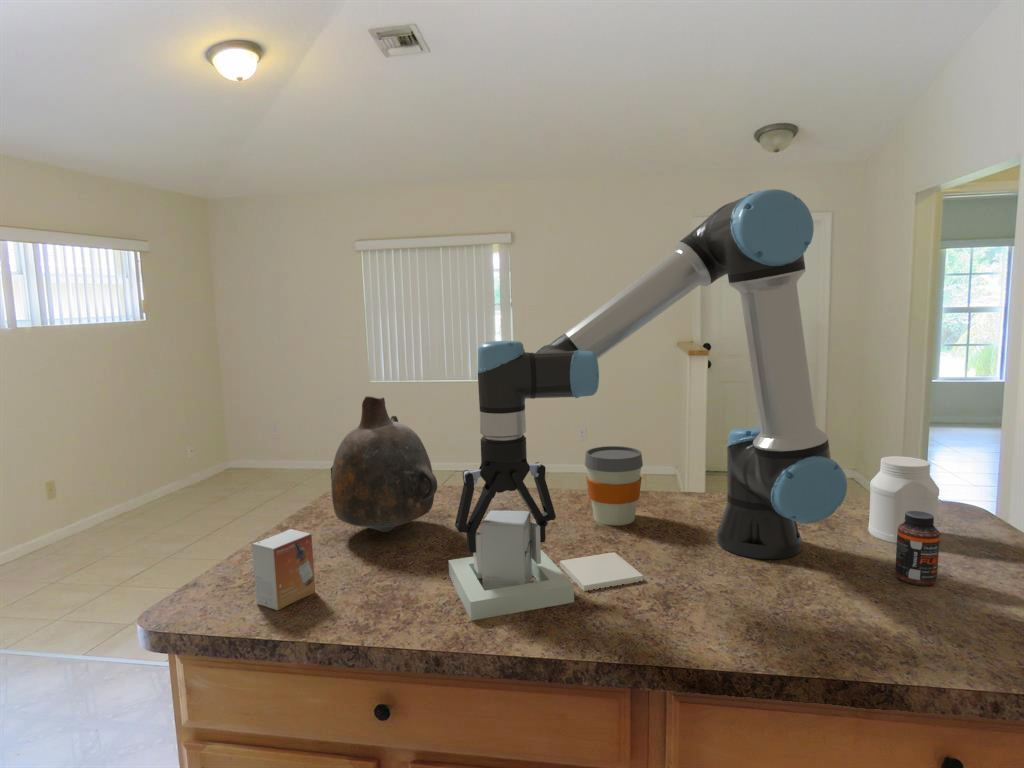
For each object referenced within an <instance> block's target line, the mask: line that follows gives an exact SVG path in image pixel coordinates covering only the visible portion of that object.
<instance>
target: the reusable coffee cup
mask: <svg viewBox="0 0 1024 768" xmlns="http://www.w3.org/2000/svg"><path fill="white" fill-rule="evenodd" d="M584 459H585V460H584V466H585V467H586V472H587V476H585V477H586V485H587V486H586V487H587V491H588V497H589V499H590V500H591V506H592V508H591V509H592V513H593V515H592V516H593V519H594V521H595V522H597V523H599V524H602V525H607V526H625V525H629V524H632V523H633V522H635V519H636V512H637V511H636V510H637V503H638V500H639V499H640V493H641V487H642V486H641V485H642V479H643V478H642V476H641V470H642V467H643V465H644V464H643V455H642V452H641V450H639V449H637V448H635V447H629V446H620V445H619V446H617V445H613V446H612V445H611V446H609V445H608V446H605V445H603V446H597V447H591V448H590V449H587V450H586V451H585V458H584Z"/></svg>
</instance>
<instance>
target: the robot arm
mask: <svg viewBox="0 0 1024 768" xmlns="http://www.w3.org/2000/svg"><path fill="white" fill-rule="evenodd" d="M814 231H815V230H814V219H813V215H812V213H811V211H810V209H809V207H808V206H807V204H806V203H805V202H804V201H803V200H802V199H801V198H800V197H798V196H796V195H795V194H794V193H792V192H790V191H787V190H784V189H776V188H775V189H773V188H772V189H771V188H770V189H765V190H758V191H755V192H751V193H748V194H747V195H745V196H743V197H741V198H738V199H737V200H734V201H732V202H728V203H726V204H724V205H722V206H720V207H719V208H718V209H716V210H715V211H714V212H713V213H711V214H710V215H709V216H708V217H707V218H706V219H704V221H702V222H701V223H700V224H699V225H698V226H696V228H695V229H693V230H692V231H691V232H690V233H688V234H687V235H686V236H685V237H683V238H682V239H681V240H679V241H678V242H677V243H676V244H675V246H674V247H675V248H674V252H672V253H671V254H670V255H669V256H667V257H666V258H664V259H663V260H662V261H660V262H659V263H658V264H657V265H655V266H653V268H651V269H650V270H648V271H646V273H644V274H643V275H642V276H640V277H639V278H637V279H636V280H635V281H633V282H632V283H631V284H630V285H628V286H627V287H625V288H624V289H622V290H621V291H620V292H619V293H617V294H616V295H614V296H613V297H612V298H610V299H609V300H608V301H606V302H604V303H603V304H602V305H601V306H599V307H598V308H596V310H594V311H592V312H591V313H590V314H589V315H587V316H586V317H584V318H583V319H582V320H580V321H579V322H577V323H576V324H575V325H573V326H572V327H571V328H569V329H568V330H567V331H566V332H564V333H562V335H560V336H559V337H557V338H556V339H555V340H554V341H552V342H550V343H549V344H547V345H543V346H541V347H540V348H539V349H537V351H536V352H526V350H525V348H524V344H523V342H522V341H520V340H495V341H494V340H493V341H487V342H486V341H485V342H483V343H481V344H480V345H479V346H478V348H477V384H478V404H479V430H480V431H479V434H481V436H482V437H481V438H480V457H481V458H480V461H481V463H480V466H479V468H478V469H474V470H468V469H465V470H463V471H462V479H463V486H462V491H461V495H460V500H459V505H458V508H457V509H458V510H457V514H456V519H455V523H454V526H455V528H456V530H457V531H458V532H459V533H460V534H463V533H464V534H466V547H467V550H468V552H469V553H470V554H473V556H474V568H475V570H476V571H477V573H482V550H481V532H479V530H478V529H479V527H480V526H481V523H482V522H483V520H484V517H485V516H486V515H485V514H486V512H487V511H488V509H489V506H490V504H491V503H492V500H493V499H494V498H495V495H496V494H500V493H504V492H506V491H508V492H514V491H515V492H516V490H517V492H518V493H519V495H520V497H521V499H522V500H523V502H524V503H525V506H526V507H527V509H528V510H529V511H530V515H531V516H532V517H533V518H534V521H531V553H532V559H533V560H534V562H535V563H536V564H541V550H542V549H541V544H543V543H545V542H546V527H547V525H548V524H549V523H548V522H549V521H554V520H556V517H557V514H556V512H555V508H554V505H553V500H552V498H551V494H550V492H549V488H548V485H547V481H546V465H544V464H542V463H540V462H537V461H536V462H535V463H528V460H527V459H528V456H527V454H528V453H527V437H526V436H525V435H524V434H526V431H527V426H526V425H527V424H526V423H527V422H526V399H533V400H535V399H551V398H552V399H553V398H556V399H557V398H558V399H559V398H574V399H578V398H580V397H581V398H582V397H591V396H594V395H596V393H597V392H598V391H599V390H598V389H599V384H600V383H599V382H600V369H599V359H600V358H602V357H603V356H604V355H607V353H608V352H610V351H611V350H613V349H614V348H616V347H617V346H618V345H620V344H621V343H622V342H623V341H626V339H628V338H629V337H630V336H632V335H633V334H635V333H637V331H639V330H640V329H642V328H643V327H644V326H645V325H647V324H648V323H650V322H651V321H652V320H654V319H656V318H657V317H658V316H659V315H660V314H662V313H663V312H665V311H666V310H668V309H669V308H671V307H672V306H673V305H675V304H676V303H677V302H679V301H680V300H681V299H683V298H684V297H686V296H687V295H688V294H690V293H691V292H692V291H693V290H696V289H697V287H699V286H701V287H702V286H703V287H708V286H710V285H711V284H713V283H714V282H716V281H717V280H718V279H720V278H722V277H724V276H726V275H727V279H728V284H729V286H730V287H732V288H733V289H735V290H736V291H738V292H739V294H740V300H741V306H742V307H741V308H742V314H743V318H744V325H745V326H744V327H745V333H746V339H747V346H748V347H747V348H748V352H749V359H750V360H749V361H750V368H751V375H752V379H753V387H754V394H755V399H756V401H755V402H756V406H757V413H758V414H757V415H758V419H759V420H758V421H759V426H750V427H740V428H739V427H738V428H733V429H731V431H730V432H729V433H728V436H727V444H726V449H727V454H726V455H727V456H726V457H727V458H726V459H727V462H726V463H727V464H726V465H727V466H726V467H727V468H726V470H727V471H726V472H727V473H726V474H727V476H726V477H727V478H726V479H727V482H726V486H727V487H726V489H727V491H726V495H727V496H726V499H727V500H726V506H725V508H724V511H723V514H722V516H721V517H722V518H721V521H720V524H719V526H718V528H717V533H716V534H717V535H716V536H717V540H716V541H717V544H718V545H719V546H720V547H721V548H723V549H724V550H726V551H727V552H730V553H732V554H735V555H739V556H742V557H746V558H752V559H757V560H758V559H761V560H781V559H789V558H791V557H794V556H796V555H798V554H799V553H800V552H801V550H802V536H801V534H800V530H799V527H798V523H799V524H814V523H818V522H822V521H824V520H827V519H828V518H830V517H831V516H833V514H834V513H836V510H837V509H838V508H839V507H841V505H843V503H844V501H845V498H846V496H847V491H848V480H847V476H846V473H845V471H844V470H843V468H842V467H841V466H840V465H839V464H838V463H837V462H836V461H834V459H832V458H831V457H832V456H831V450H830V445H829V438H828V434H827V433H826V432H824V431H823V430H822V429H820V428H819V427H818V426H817V425H816V424H817V423H816V418H815V410H814V409H815V408H814V403H813V402H814V401H813V396H812V388H811V387H812V386H811V381H810V379H811V378H810V374H809V366H808V357H807V351H806V342H805V336H804V327H803V321H802V314H801V307H800V299H799V292H798V281H800V279H801V277H802V276H803V274H804V273H805V272H807V271H806V264H805V256H804V253H805V252H806V251H807V249H808V248H809V245H810V244H811V243H812V239H813V237H814ZM529 472H530V475H531V476H532V477H533V479H534V483H535V486H536V489H537V493H538V496H539V500H540V504H541V506H542V507H541V508H542V510H543V512H541V510H540V508H539V507H538V505H537V503H536V502H535V499H534V498H533V497H532V494H531V493H530V492H529V489H528V487H527V486H526V484H525V482H524V481H525V478H526V477H527V475H528V474H529ZM480 477H481V478H482V479H483V481H484V482H485V483H484V485H483V487H482V490H481V493H480V495H479V497H478V500H477V502H476V504H475V505H474V508H473V510H472V512H471V515H470V510H471V505H472V501H473V496H474V491H475V485H476V484H477V483H478V480H479V478H480ZM469 515H470V517H469ZM473 556H472V557H473Z"/></svg>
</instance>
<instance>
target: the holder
mask: <svg viewBox="0 0 1024 768" xmlns="http://www.w3.org/2000/svg"><path fill="white" fill-rule="evenodd" d="M531 556H532V553H531ZM447 561H448V576H450V577H449V579H450V578H451V579H450V581H451V580H452V581H451V583H452V582H453V583H452V585H453V587H454V586H455V587H454V589H455V591H456V593H457V595H458V597H459V599H460V602H461V603H462V605H463V607H464V609H465V611H466V613H467V615H468V617H469V619H470V621H471V622H473V621H476V620H483V619H488V618H493V617H500V616H505V615H511V614H517V613H521V612H522V613H523V612H528V611H533V610H538V609H543V608H549V607H556V606H561V605H566V604H573V603H575V585H574V583H573V582H572V581H571V579H569V578H568V577H567V576H566V575H565V574H564V572H563V571H562V570H561V569H560V568H559V567H558V566H557V565H556V564H555V563H554V562H553V560H551V558H550V557H549V556H548V555H547V554H546V553H545V552H544V551H543V550H542V549H541V564H536V563H535V562H534V560H533V559H532V577H533V576H534V577H535V578H536V579H535V578H534V577H533V578H534V579H535V580H536V581H535V582H531V583H528V584H522V585H516V586H510V587H504V588H498V589H492V590H486V591H484V589H483V585H482V584H481V582H480V581H479V579H477V578H481V577H482V573H477V571H476V570H475V568H474V556H468V557H467V556H466V557H460V558H455V559H449V560H447ZM537 581H538V582H537Z"/></svg>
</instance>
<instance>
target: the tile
mask: <svg viewBox="0 0 1024 768" xmlns="http://www.w3.org/2000/svg"><path fill="white" fill-rule="evenodd" d="M559 566H560V568H561V569H562V570H563V571H564V572H565V573H566V574H567V576H569V577H570V578H571V579H572V581H573V582H574V583H577V584H578V587H579V588H580V587H581V588H580V589H581V590H582V589H583V590H582V591H583V592H588V590H589V591H593V589H595V590H599V588H601V589H606V588H611V587H610V586H612V587H616V586H617V585H618V586H622V584H624V585H628V584H633V583H634V582H635V583H639V581H641V582H644V575H643V574H642V573H641V572H639V571H638V570H637V569H636V568H634V567H633V566H632V565H631V564H630V563H629V562H627V561H626V560H625V559H623V558H622V557H621V556H620V555H619V554H617V553H616V552H614V551H613V552H607V553H602V554H601V553H600V554H595V555H594V554H593V555H587V556H581V557H574V558H569V559H563V560H559ZM577 584H576V585H577ZM618 586H617V587H618ZM605 587H606V588H605Z"/></svg>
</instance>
